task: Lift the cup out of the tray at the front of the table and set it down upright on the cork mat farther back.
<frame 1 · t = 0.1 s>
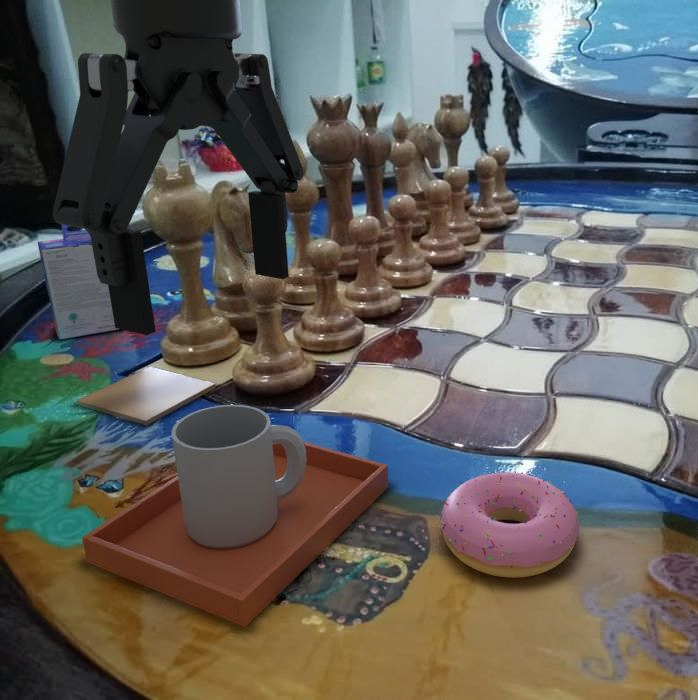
hand: (211, 300, 53), 19 cm above the table, tool pointing down, fingers open, 13 cm apart
tray: (250, 521, 60), on the table
cork mat: (148, 396, 81), on the table
doughnut: (508, 544, 59), on the table
ink cartridge box: (97, 329, 99), on the table
cup: (250, 520, 60), resting on tray
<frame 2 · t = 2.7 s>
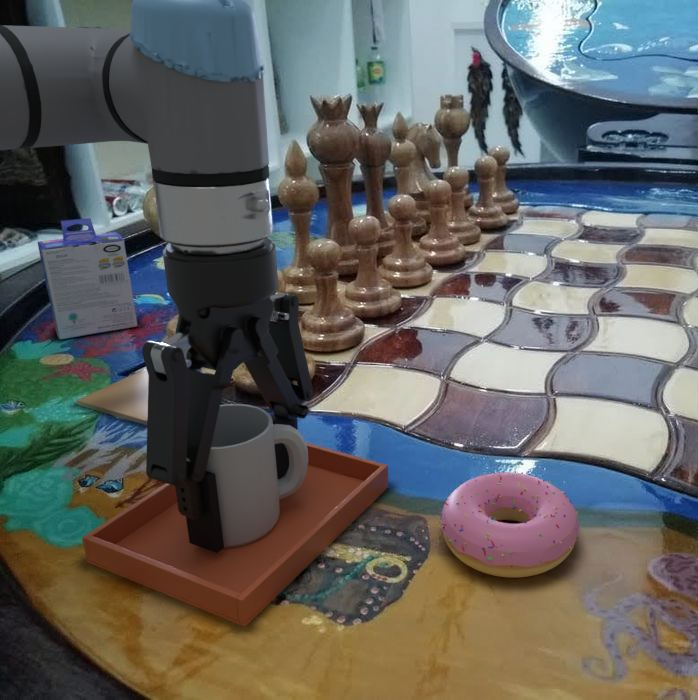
hand: (247, 513, 60), 1 cm above the table, tool pointing down, fingers closed on cup, 9 cm apart
cup: (252, 519, 60), resting on tray, touching gripper
everything else where it was.
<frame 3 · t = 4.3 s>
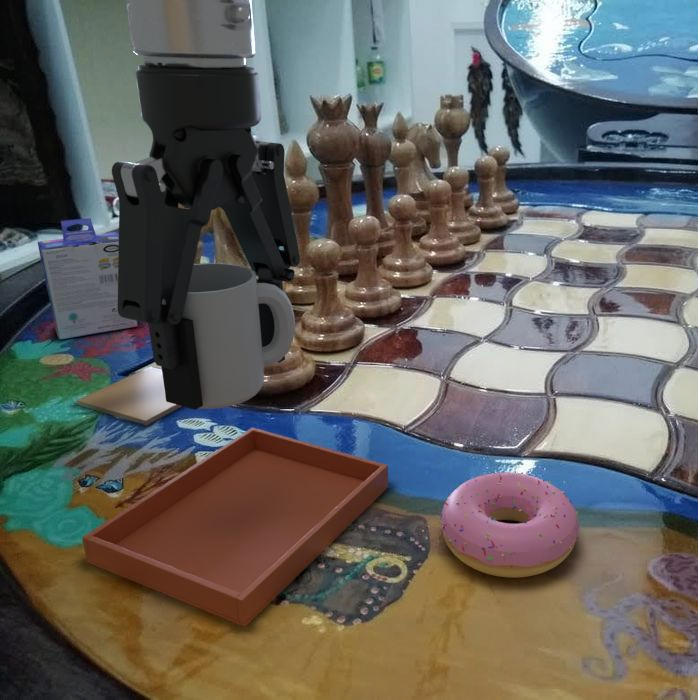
hand: (229, 378, 56), 13 cm above the table, tool pointing down, fingers closed on cup, 9 cm apart
cup: (235, 387, 57), point 12 cm above the table, touching gripper
everything else where it was.
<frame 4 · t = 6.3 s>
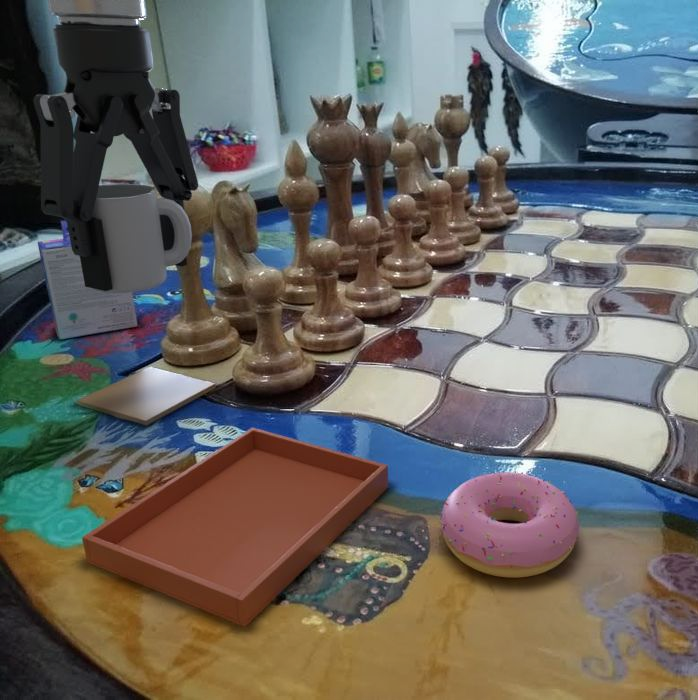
hand: (138, 275, 72), 15 cm above the table, tool pointing down, fingers closed on cup, 9 cm apart
cup: (144, 282, 72), point 14 cm above the table, touching gripper
everything else where it was.
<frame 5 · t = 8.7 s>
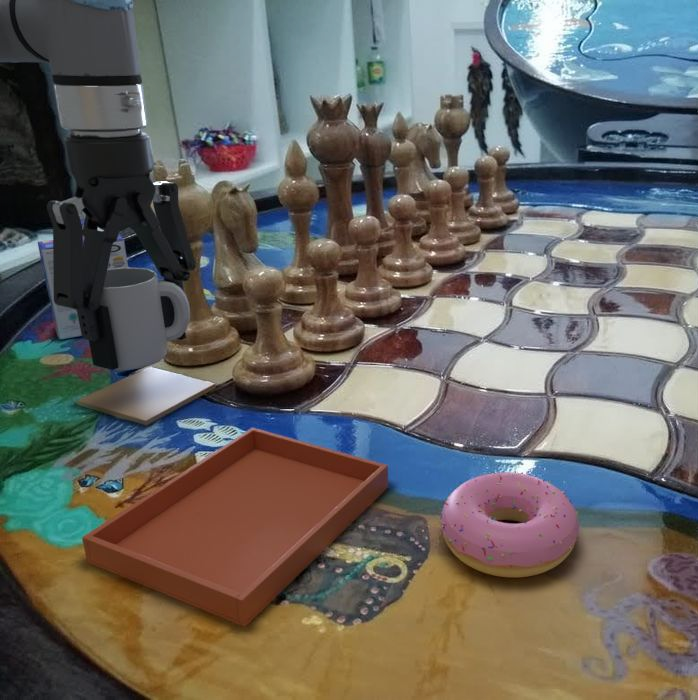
hand: (141, 350, 78), 5 cm above the table, tool pointing down, fingers closed on cup, 9 cm apart
cup: (146, 356, 79), point 5 cm above the table, touching gripper
everything else where it was.
when the fingers open (1 cm above the table, at t = 10.2 s): cup stays where it is, resting on cork mat.
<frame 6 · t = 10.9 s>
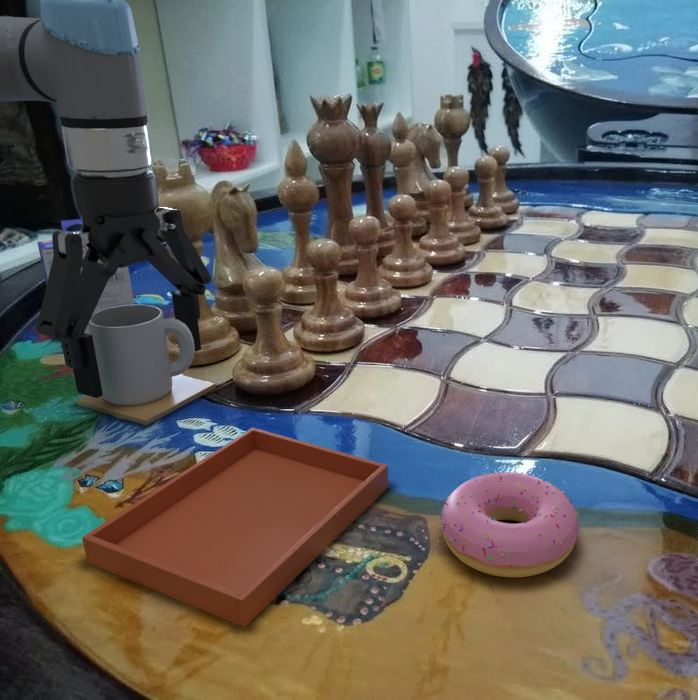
hand: (143, 369, 79), 3 cm above the table, tool pointing down, fingers open, 13 cm apart
cup: (151, 391, 81), resting on cork mat
everything else where it was.
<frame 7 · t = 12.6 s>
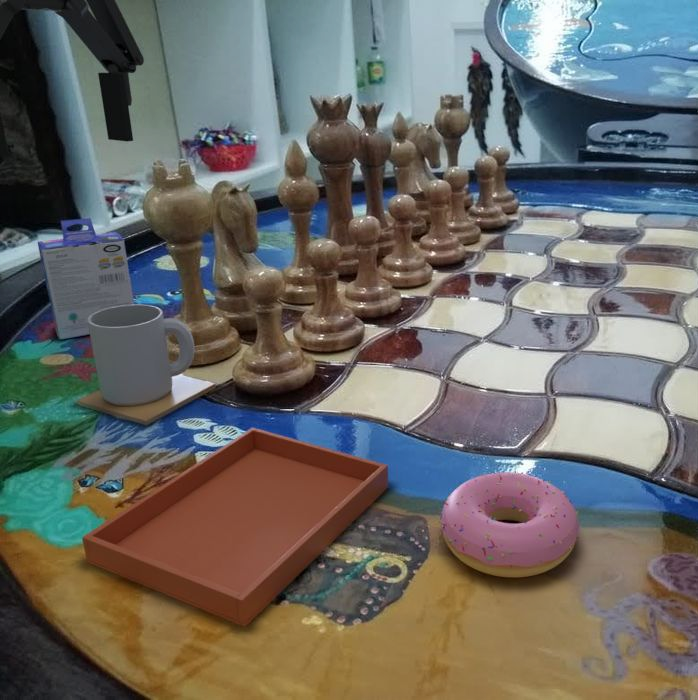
hand: (63, 147, 70), 27 cm above the table, tool pointing down, fingers open, 13 cm apart
nothing on the table moved.
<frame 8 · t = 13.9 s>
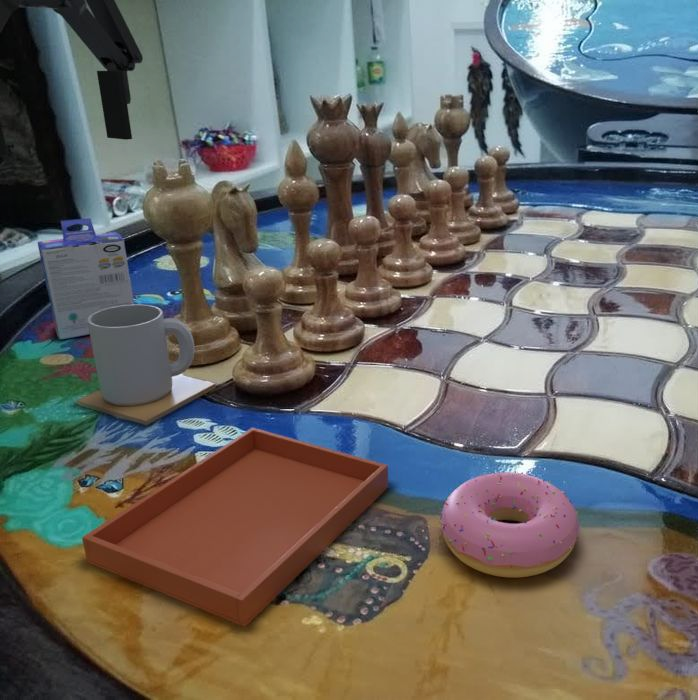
hand: (61, 145, 70), 27 cm above the table, tool pointing down, fingers open, 13 cm apart
nothing on the table moved.
at the end: cup inside the target area on the cork mat (0.5 cm from its centre), point 0.4 cm above the cork mat's base; cup touching cork mat; cup tilted 0° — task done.
